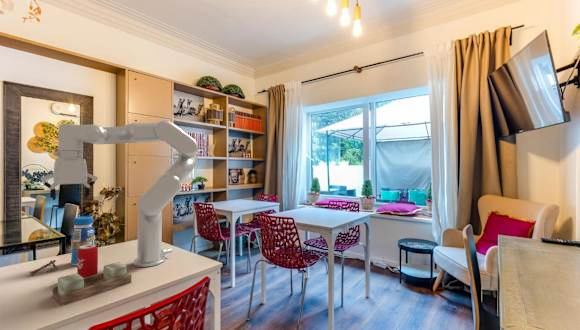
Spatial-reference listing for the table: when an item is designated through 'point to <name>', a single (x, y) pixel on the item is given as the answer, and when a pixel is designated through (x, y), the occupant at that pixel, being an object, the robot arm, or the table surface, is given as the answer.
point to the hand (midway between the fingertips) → (70, 198)
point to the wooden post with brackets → (45, 267)
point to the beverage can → (87, 260)
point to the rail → (90, 283)
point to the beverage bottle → (81, 235)
